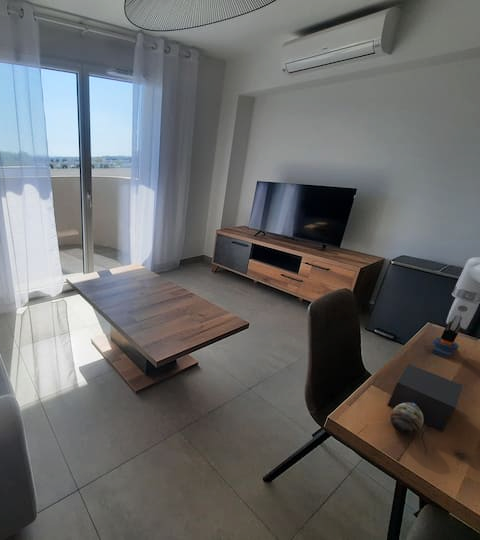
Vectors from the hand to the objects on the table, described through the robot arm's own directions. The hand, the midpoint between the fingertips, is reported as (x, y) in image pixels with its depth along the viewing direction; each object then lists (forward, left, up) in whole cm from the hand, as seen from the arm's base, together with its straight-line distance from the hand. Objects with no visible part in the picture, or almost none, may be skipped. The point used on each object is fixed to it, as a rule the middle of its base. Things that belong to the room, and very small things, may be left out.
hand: (447, 339), depth 103 cm
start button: (0, 0, -2) cm, 2 cm away
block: (0, 0, -5) cm, 5 cm away
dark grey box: (-16, +38, -5) cm, 41 cm away
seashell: (-20, +51, -5) cm, 55 cm away
